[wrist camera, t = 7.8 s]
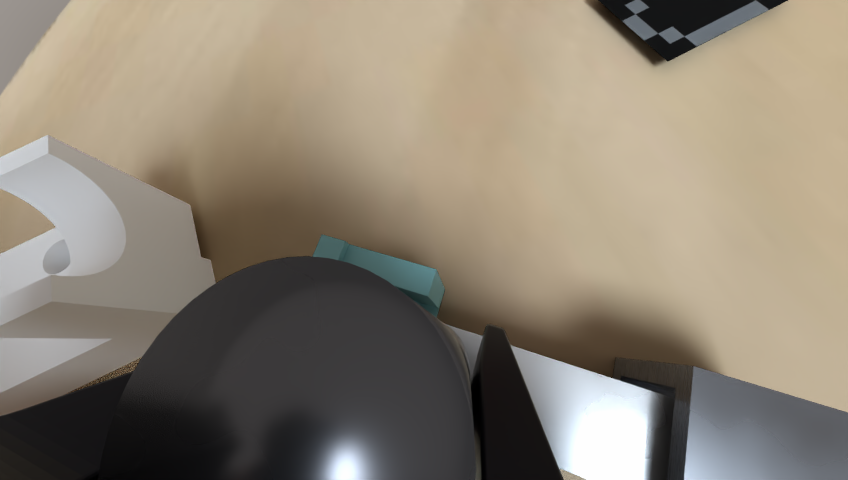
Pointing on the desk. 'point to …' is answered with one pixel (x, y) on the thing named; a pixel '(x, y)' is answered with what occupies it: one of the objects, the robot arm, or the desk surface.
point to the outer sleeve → (742, 427)
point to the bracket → (88, 272)
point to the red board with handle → (684, 20)
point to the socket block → (389, 271)
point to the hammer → (349, 390)
